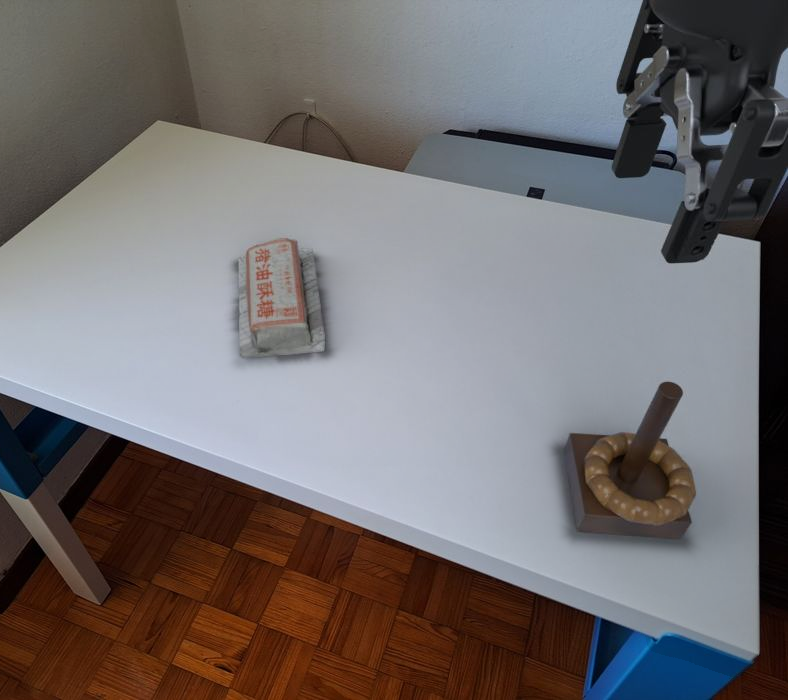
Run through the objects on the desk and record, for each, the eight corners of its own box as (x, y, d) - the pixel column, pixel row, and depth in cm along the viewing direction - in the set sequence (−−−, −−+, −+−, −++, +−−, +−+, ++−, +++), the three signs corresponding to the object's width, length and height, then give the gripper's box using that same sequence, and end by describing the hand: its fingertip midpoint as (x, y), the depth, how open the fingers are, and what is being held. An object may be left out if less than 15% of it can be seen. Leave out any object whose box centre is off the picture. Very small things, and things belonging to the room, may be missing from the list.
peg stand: (657, 456, 67) (714, 351, 57) (680, 539, 61) (750, 439, 50) (563, 450, 68) (602, 346, 57) (577, 532, 62) (623, 431, 51)
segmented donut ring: (681, 448, 64) (688, 435, 63) (698, 536, 58) (707, 524, 57) (579, 435, 66) (584, 422, 64) (585, 519, 60) (591, 507, 58)
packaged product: (325, 323, 75) (235, 332, 75) (327, 353, 79) (240, 362, 78) (312, 226, 88) (234, 233, 87) (313, 256, 91) (239, 263, 91)
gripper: (974, -46, 25) (771, 290, 36) (779, -142, 34) (669, 148, 46) (765, -36, 25) (630, 297, 36) (629, -135, 34) (558, 153, 46)
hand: (652, 213), depth 41 cm, fingers open, 8 cm apart
